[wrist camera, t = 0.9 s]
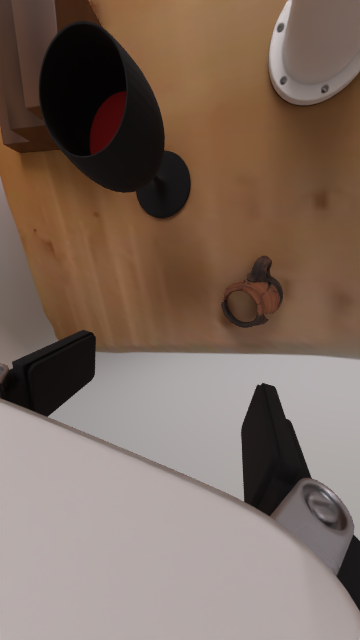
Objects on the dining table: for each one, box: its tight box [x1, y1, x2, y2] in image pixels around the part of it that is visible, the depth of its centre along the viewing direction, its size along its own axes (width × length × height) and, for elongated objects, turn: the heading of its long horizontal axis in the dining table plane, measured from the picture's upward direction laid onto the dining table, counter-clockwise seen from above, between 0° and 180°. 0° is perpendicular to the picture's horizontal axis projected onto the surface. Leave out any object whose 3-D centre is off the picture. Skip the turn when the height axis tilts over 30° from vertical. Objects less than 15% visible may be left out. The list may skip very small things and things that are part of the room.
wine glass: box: [39, 21, 190, 218], centre depth 25 cm, size 10×10×20 cm
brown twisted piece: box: [221, 256, 283, 328], centre depth 33 cm, size 12×10×8 cm
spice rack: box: [0, 0, 102, 153], centre depth 30 cm, size 21×15×10 cm
